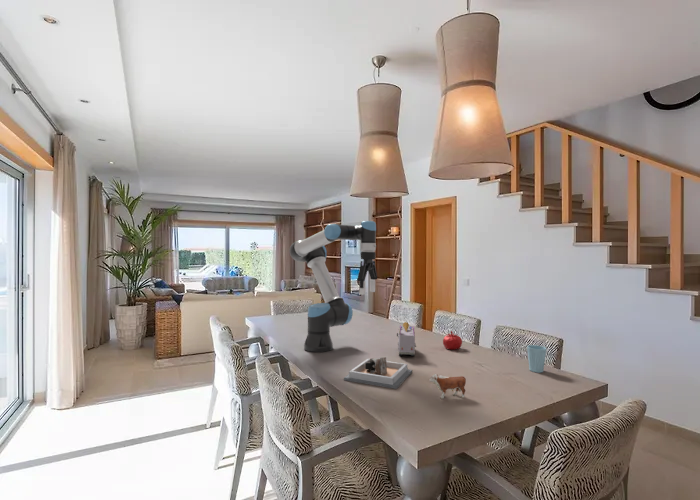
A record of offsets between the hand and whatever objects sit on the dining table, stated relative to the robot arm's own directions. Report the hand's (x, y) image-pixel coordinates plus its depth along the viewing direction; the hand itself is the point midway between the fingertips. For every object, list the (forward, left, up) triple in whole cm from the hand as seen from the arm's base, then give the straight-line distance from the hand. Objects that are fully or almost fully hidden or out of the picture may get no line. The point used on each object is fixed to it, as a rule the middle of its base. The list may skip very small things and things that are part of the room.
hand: (367, 293), depth 193 cm
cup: (+78, +8, -31) cm, 84 cm away
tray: (+18, -30, -31) cm, 47 cm away
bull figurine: (+48, -40, -31) cm, 70 cm away
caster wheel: (+16, -31, -29) cm, 45 cm away
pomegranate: (+38, +30, -31) cm, 57 cm away
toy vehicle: (+18, +10, -31) cm, 37 cm away
